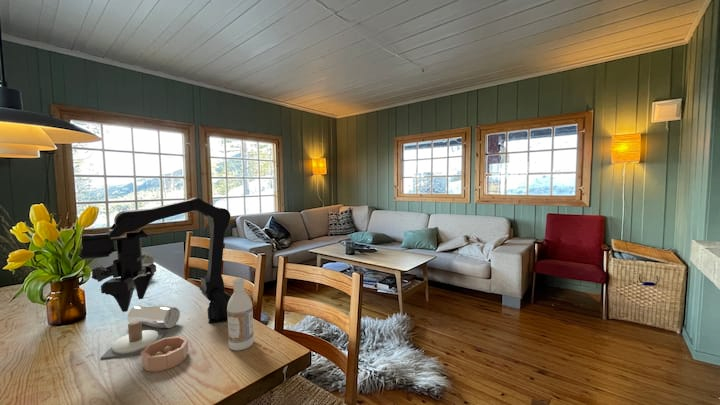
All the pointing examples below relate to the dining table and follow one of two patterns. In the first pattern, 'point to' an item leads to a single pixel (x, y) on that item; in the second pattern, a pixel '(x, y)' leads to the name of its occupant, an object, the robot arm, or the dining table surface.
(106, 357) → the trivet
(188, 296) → the dining table surface
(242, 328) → the bath foam
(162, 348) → the bowl
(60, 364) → the dining table surface
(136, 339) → the lid
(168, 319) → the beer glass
